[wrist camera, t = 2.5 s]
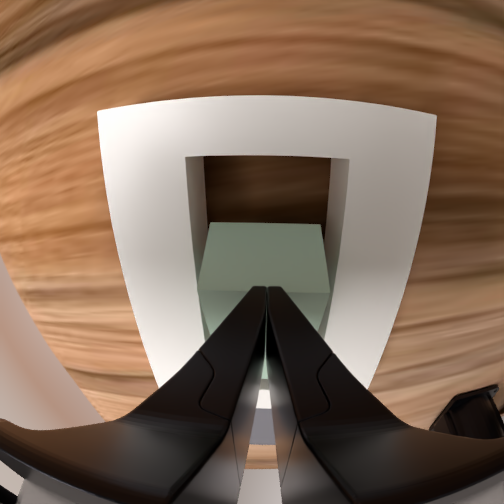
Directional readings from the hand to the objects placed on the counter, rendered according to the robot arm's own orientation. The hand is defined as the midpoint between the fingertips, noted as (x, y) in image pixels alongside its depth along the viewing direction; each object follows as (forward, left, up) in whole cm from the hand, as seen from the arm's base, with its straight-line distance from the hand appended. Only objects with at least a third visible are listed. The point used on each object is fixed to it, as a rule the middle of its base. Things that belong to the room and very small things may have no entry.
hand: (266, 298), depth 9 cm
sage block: (0, +3, -4) cm, 5 cm away
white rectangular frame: (0, +2, -6) cm, 6 cm away
